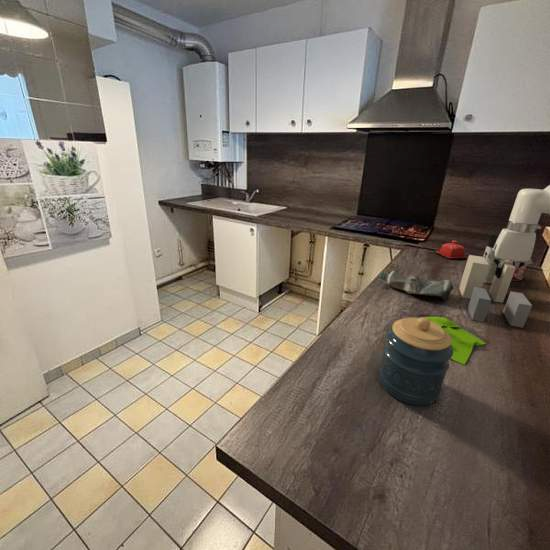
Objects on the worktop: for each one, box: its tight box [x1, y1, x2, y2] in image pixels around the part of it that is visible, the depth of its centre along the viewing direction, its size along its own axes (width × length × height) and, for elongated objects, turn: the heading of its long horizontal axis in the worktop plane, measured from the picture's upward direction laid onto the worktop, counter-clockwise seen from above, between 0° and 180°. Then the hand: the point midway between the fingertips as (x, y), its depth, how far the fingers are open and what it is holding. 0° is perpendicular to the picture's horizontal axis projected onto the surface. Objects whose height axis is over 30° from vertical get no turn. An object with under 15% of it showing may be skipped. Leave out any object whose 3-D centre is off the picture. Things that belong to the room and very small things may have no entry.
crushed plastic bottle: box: [380, 270, 454, 301], centre depth 110 cm, size 13×7×25 cm
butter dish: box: [435, 239, 469, 260], centre depth 150 cm, size 12×12×8 cm
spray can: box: [482, 232, 501, 285], centre depth 119 cm, size 7×7×20 cm
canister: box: [378, 316, 453, 406], centre depth 63 cm, size 13×13×18 cm
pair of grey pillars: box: [467, 287, 533, 329], centre depth 93 cm, size 13×9×8 cm
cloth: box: [424, 316, 487, 366], centre depth 83 cm, size 20×22×2 cm
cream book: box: [488, 260, 516, 304], centre depth 105 cm, size 2×9×14 cm, turn 156°
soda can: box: [509, 260, 529, 282], centre depth 123 cm, size 7×7×12 cm
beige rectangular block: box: [458, 254, 489, 300], centre depth 108 cm, size 5×9×14 cm, turn 156°
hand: (502, 277), depth 104 cm, fingers closed on cream book, 2 cm apart
